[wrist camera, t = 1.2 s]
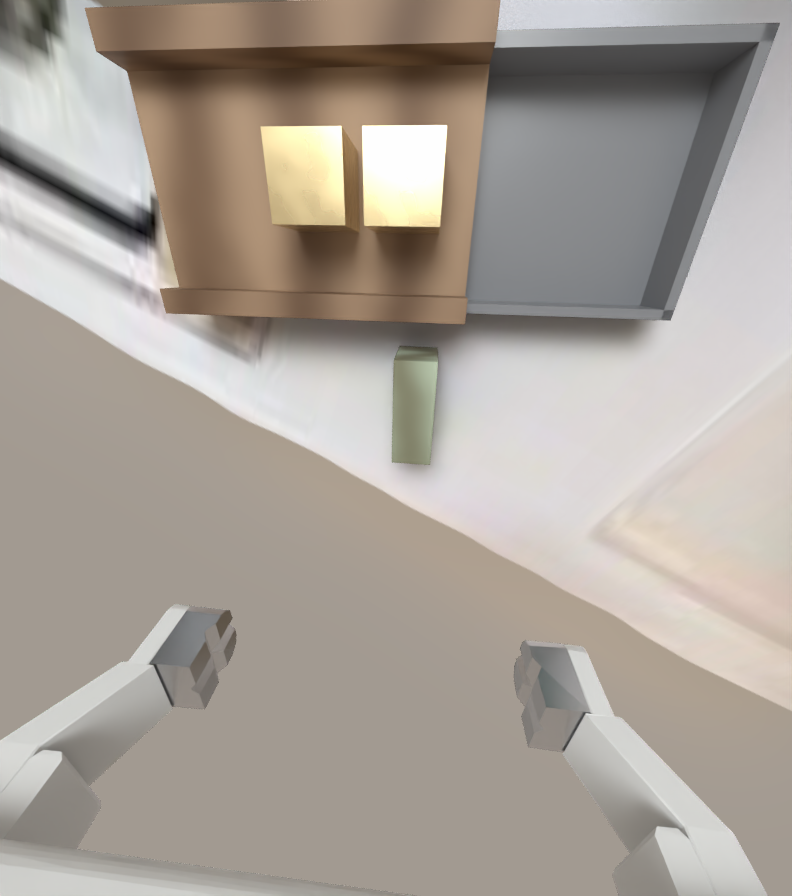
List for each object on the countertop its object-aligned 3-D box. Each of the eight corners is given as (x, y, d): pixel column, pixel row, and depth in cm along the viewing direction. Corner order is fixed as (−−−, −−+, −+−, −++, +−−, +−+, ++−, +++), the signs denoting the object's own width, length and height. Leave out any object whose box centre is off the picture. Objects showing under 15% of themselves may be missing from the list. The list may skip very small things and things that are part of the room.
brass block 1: (357, 151, 20) (341, 125, 16) (359, 232, 22) (345, 225, 18) (290, 151, 20) (260, 126, 17) (298, 231, 22) (272, 224, 19)
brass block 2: (444, 151, 20) (447, 125, 16) (438, 233, 21) (440, 226, 18) (375, 151, 20) (362, 126, 16) (375, 232, 22) (363, 225, 18)
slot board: (485, 55, 20) (501, -7, 15) (459, 315, 26) (464, 324, 22) (157, 62, 21) (84, 8, 17) (208, 306, 28) (166, 313, 23)
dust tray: (723, 62, 19) (780, 22, 16) (641, 314, 25) (670, 320, 22) (484, 66, 20) (494, 30, 17) (460, 307, 26) (464, 313, 23)
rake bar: (437, 347, 28) (438, 362, 23) (430, 437, 31) (429, 464, 27) (400, 345, 28) (393, 360, 23) (397, 435, 32) (391, 462, 27)
